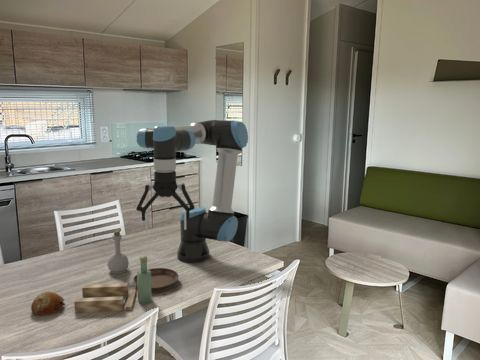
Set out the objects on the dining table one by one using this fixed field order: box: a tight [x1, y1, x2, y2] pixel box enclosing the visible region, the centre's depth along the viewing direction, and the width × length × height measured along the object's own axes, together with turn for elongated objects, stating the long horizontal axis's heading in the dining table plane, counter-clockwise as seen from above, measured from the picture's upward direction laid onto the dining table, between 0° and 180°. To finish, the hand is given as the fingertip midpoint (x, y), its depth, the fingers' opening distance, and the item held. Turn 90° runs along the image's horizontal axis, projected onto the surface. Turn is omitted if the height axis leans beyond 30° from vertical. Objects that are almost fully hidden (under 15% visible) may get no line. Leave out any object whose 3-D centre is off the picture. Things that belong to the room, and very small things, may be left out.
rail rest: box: [73, 282, 137, 314], centre depth 148 cm, size 19×13×4 cm
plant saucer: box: [132, 267, 180, 293], centre depth 164 cm, size 18×18×3 cm
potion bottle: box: [107, 230, 130, 275], centre depth 174 cm, size 9×9×18 cm
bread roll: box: [30, 290, 66, 317], centre depth 143 cm, size 10×10×8 cm
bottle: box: [136, 255, 153, 305], centre depth 148 cm, size 5×5×17 cm
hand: (166, 228), depth 147 cm, fingers open, 13 cm apart
